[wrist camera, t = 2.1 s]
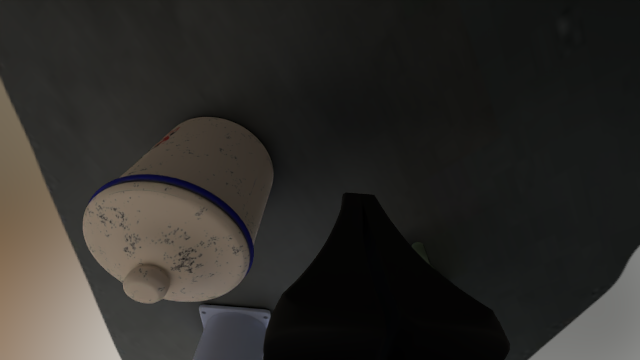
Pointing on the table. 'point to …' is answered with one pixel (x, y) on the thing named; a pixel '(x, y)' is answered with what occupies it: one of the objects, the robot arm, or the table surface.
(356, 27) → the table surface
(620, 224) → the table surface
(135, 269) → the teacup with lid
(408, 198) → the table surface
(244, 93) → the table surface
